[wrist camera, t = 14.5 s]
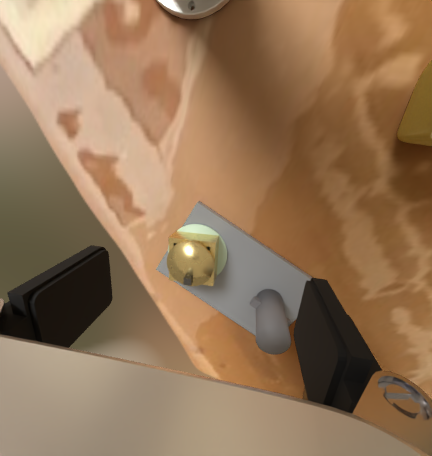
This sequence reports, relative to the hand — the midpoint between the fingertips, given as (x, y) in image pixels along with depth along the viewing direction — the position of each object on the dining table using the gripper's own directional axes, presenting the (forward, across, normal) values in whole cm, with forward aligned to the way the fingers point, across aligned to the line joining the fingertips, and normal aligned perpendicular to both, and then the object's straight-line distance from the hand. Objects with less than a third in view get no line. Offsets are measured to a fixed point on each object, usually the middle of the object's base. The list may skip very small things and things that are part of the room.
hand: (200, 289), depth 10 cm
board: (+22, -2, +12) cm, 25 cm away
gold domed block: (+21, +5, +8) cm, 23 cm away
